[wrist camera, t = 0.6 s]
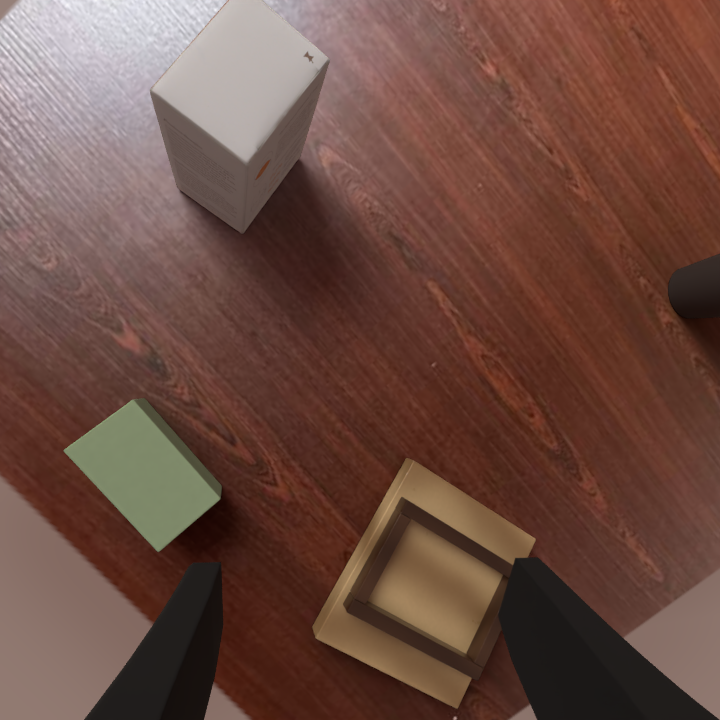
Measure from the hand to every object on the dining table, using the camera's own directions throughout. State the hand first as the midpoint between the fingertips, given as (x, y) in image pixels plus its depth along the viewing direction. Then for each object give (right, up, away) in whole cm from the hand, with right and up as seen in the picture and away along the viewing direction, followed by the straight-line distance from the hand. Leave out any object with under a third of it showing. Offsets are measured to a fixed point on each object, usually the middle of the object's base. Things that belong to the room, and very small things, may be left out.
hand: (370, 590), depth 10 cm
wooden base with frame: (+5, -11, +23) cm, 26 cm away
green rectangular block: (-14, -1, +18) cm, 23 cm away
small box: (-9, +19, +21) cm, 30 cm away
